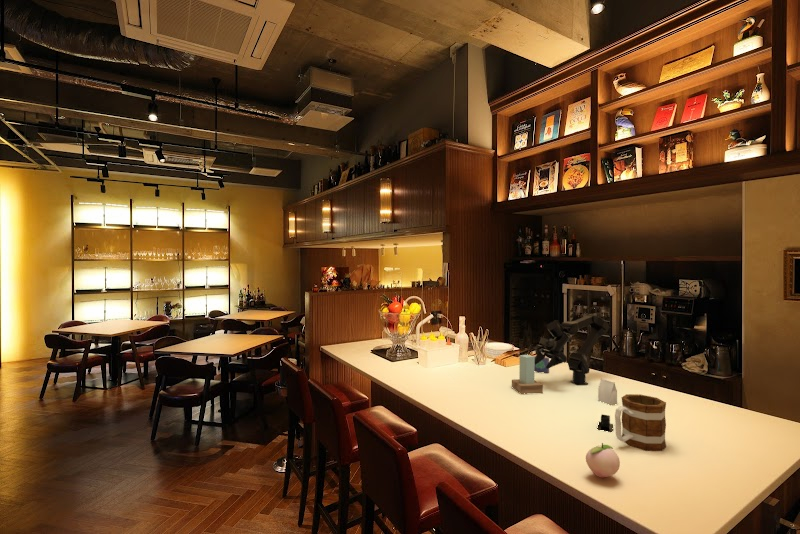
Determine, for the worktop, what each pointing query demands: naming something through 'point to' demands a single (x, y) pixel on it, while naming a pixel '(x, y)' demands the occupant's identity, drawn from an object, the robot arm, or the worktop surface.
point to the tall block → (527, 369)
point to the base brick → (527, 387)
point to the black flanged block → (605, 423)
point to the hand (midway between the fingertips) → (540, 366)
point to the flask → (542, 365)
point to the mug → (641, 422)
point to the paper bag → (607, 392)
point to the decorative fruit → (603, 460)
